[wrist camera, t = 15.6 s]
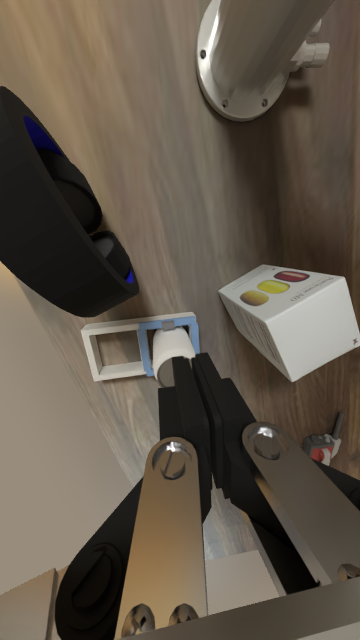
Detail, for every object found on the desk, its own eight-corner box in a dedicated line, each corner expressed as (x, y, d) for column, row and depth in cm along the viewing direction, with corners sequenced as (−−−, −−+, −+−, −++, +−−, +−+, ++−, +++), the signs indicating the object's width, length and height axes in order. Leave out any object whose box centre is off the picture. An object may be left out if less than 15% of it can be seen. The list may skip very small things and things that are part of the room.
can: (192, 327, 38) (209, 360, 27) (180, 357, 40) (192, 399, 29) (159, 317, 37) (162, 348, 26) (148, 349, 39) (147, 390, 27)
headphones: (145, 278, 34) (138, 313, 16) (111, 296, 35) (63, 353, 16) (76, 156, 28) (-77, -34, 9) (35, 179, 28) (-196, 42, 9)
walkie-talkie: (324, 466, 57) (341, 408, 51) (338, 483, 53) (358, 422, 47) (295, 471, 56) (308, 412, 50) (306, 488, 52) (322, 427, 46)
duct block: (193, 310, 37) (198, 318, 33) (196, 359, 41) (201, 372, 36) (86, 323, 35) (77, 333, 31) (98, 372, 39) (91, 388, 34)
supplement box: (263, 262, 36) (349, 272, 20) (280, 305, 39) (367, 343, 23) (215, 291, 37) (263, 322, 21) (236, 331, 40) (292, 385, 24)
